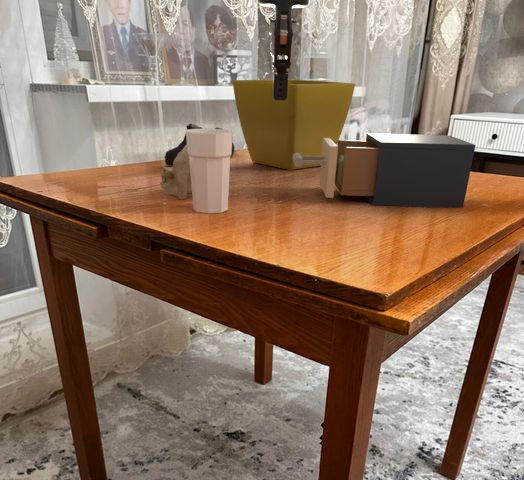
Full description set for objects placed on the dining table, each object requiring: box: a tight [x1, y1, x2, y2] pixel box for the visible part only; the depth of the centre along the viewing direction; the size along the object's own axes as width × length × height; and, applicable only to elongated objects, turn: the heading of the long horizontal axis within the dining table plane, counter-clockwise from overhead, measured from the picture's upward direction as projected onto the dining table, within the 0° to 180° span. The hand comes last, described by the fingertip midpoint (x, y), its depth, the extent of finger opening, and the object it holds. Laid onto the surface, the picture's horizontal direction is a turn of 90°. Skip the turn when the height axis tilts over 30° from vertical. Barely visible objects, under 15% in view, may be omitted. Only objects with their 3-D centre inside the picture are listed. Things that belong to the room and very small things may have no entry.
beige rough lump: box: [160, 144, 192, 200], centre depth 88 cm, size 9×6×10 cm
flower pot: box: [232, 79, 356, 171], centre depth 118 cm, size 19×19×17 cm
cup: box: [185, 128, 233, 214], centre depth 79 cm, size 7×7×11 cm
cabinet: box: [365, 132, 476, 209], centre depth 90 cm, size 15×13×10 cm
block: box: [337, 155, 344, 187], centre depth 91 cm, size 4×4×4 cm
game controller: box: [164, 123, 236, 167], centre depth 112 cm, size 16×7×10 cm, turn 43°
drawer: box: [293, 138, 379, 199], centre depth 90 cm, size 19×11×8 cm, turn 90°
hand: (279, 99), depth 85 cm, fingers closed
